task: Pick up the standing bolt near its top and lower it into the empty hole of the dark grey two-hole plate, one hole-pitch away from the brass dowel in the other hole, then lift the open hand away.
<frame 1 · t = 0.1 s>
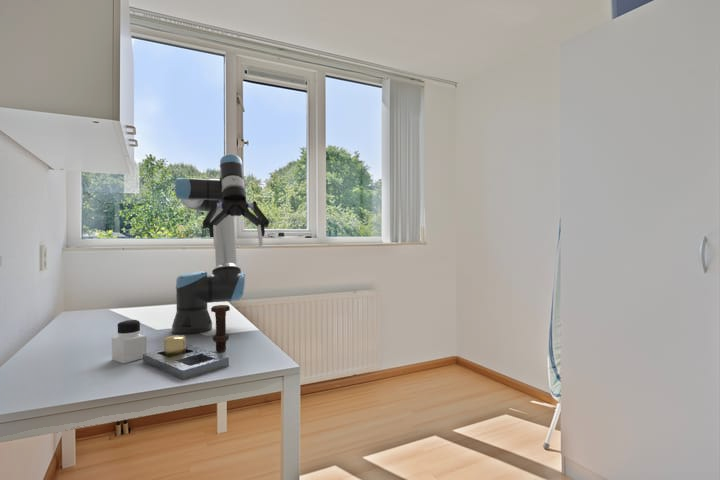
hand: (238, 244, 123), 36 cm above the table, tool tilted 35°, fingers open, 13 cm apart
hole plate: (185, 364, 119), on the table
medicine bottle: (129, 359, 125), on the table
bolt: (221, 351, 132), on the table
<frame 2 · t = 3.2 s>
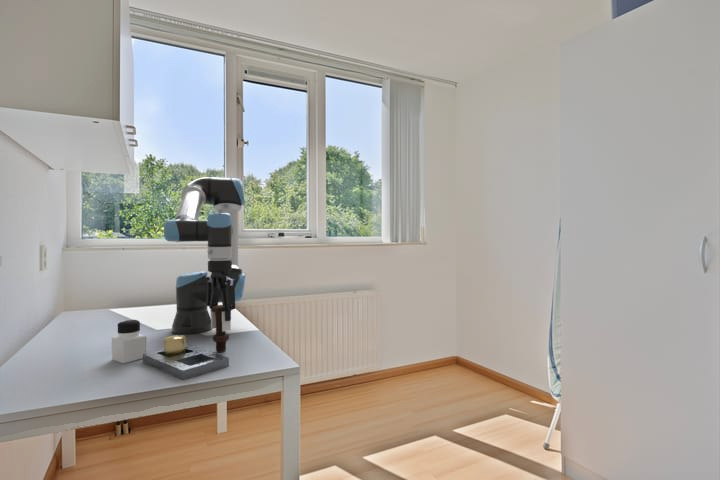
hand: (220, 329, 132), 7 cm above the table, tool pointing down, fingers closed on bolt, 6 cm apart
bolt: (221, 351, 132), on the table, touching gripper
everything else where it was.
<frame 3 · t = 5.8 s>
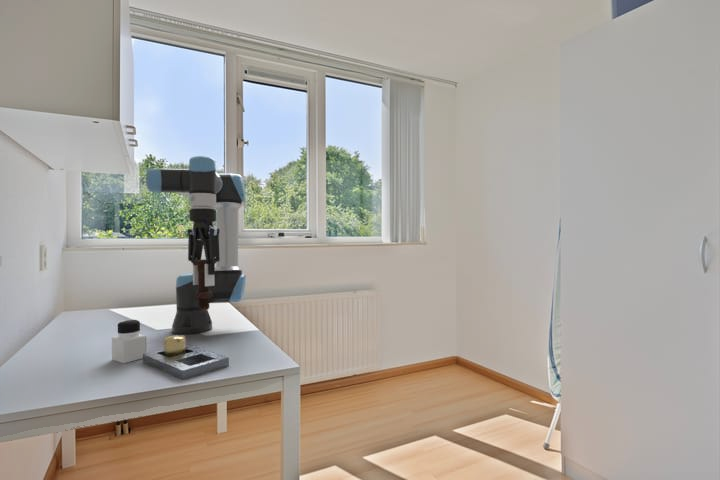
hand: (203, 285, 120), 24 cm above the table, tool pointing down, fingers closed on bolt, 6 cm apart
bolt: (204, 309, 120), point 16 cm above the table, touching gripper
everything else where it was.
when the fingers open (9 cm above the table, at t = 8.6 s): bolt drops 1 cm, resting in hole plate.
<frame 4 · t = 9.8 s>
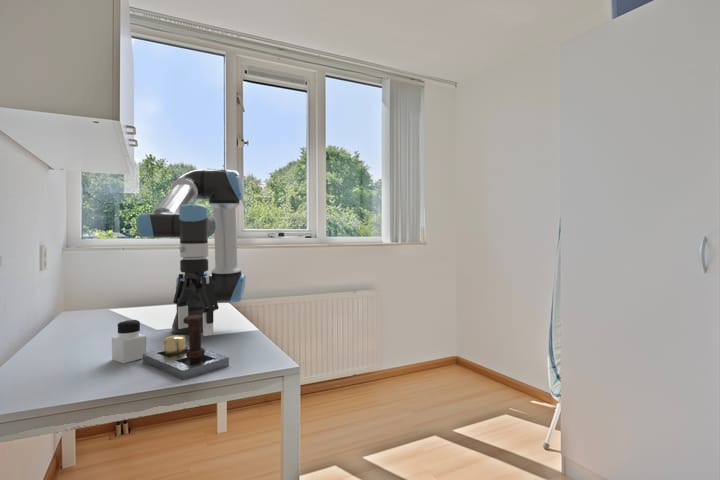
hand: (195, 331, 116), 11 cm above the table, tool pointing down, fingers open, 13 cm apart
bolt: (196, 368, 116), resting in hole plate
everything else where it was.
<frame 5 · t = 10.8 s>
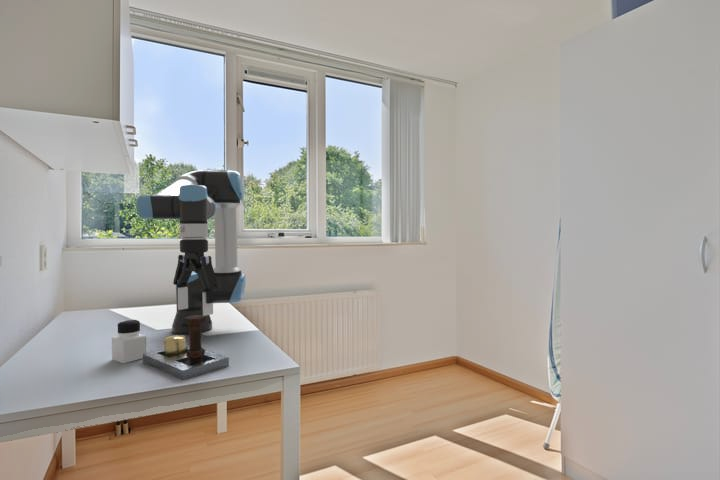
hand: (195, 311, 116), 16 cm above the table, tool pointing down, fingers open, 13 cm apart
nothing on the table moved.
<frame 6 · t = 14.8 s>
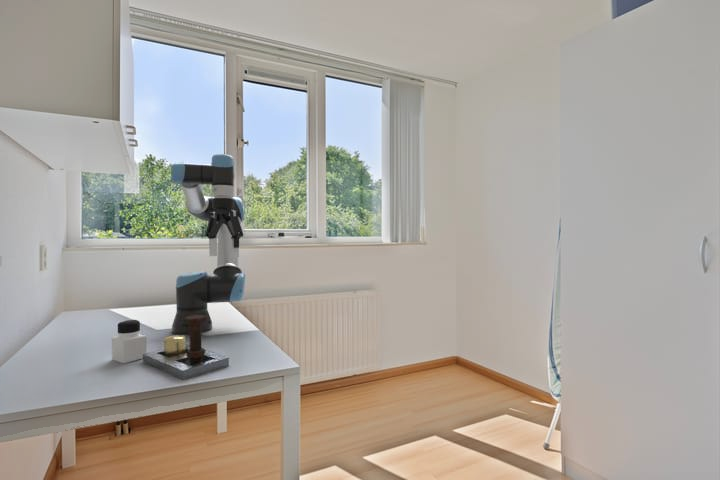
hand: (223, 256, 144), 31 cm above the table, tool pointing down, fingers open, 13 cm apart
nothing on the table moved.
at the end: bolt 0.1 cm from the target spot on the hole plate, point 0.0 cm above the hole plate's base; bolt tilted 0°; the gripper is holding nothing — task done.
